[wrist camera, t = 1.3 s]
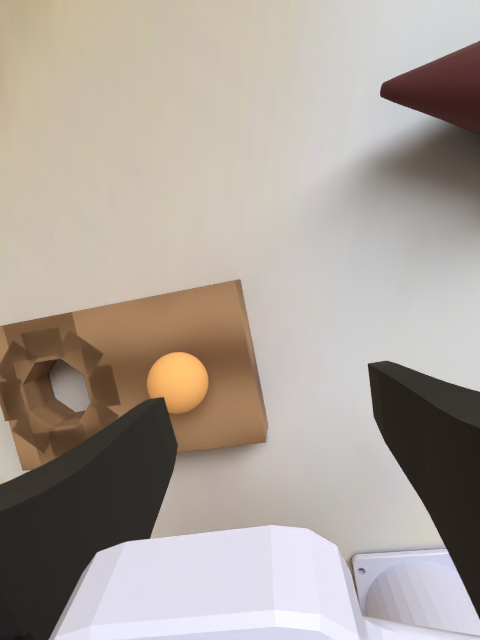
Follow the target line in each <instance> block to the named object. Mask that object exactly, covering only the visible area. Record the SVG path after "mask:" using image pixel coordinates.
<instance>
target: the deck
mask: <svg viewBox="0 0 480 640" xmlns="http://www.w3.org/2000/svg"><path fill="white" fill-rule="evenodd" d="M174 352H184V353H188V354H190V355H193V356H194V357H196V358H197V359H198V360H200V361H201V363H202V364H203V365H204V367H205V369H206V371H207V374H208V389H207V393H206V395H205V397H204V399H203V400H202V401H201V403H200V404H199V405H198V406H197V407H195V408H194V409H192V410H190V411H188V412H185V413H179V414H174V413H169V412H168V413H169V416H170V420H171V423H172V427H173V430H174V433H175V437H176V440H177V444H178V448H177V453H178V452H187V451H195V450H204V449H212V448H221V447H229V446H238V445H246V444H255V443H263V442H266V437H267V428H268V422H267V417H266V411H265V406H264V401H263V396H262V390H261V385H260V380H259V375H258V370H257V364H256V359H255V354H254V349H253V343H252V338H251V333H250V328H249V323H248V317H247V312H246V307H245V302H244V296H243V291H242V286H241V281H240V280H234V281H229V282H224V283H219V284H214V285H209V286H203V287H198V288H193V289H188V290H183V291H178V292H173V293H168V294H162V295H157V296H152V297H147V298H142V299H137V300H132V301H126V302H121V303H116V304H111V305H106V306H101V307H96V308H91V309H85V310H80V311H75V312H70V313H65V314H60V315H55V316H49V317H44V318H39V319H34V320H29V321H24V322H19V323H14V324H8V325H3V326H0V404H1V407H2V411H3V414H4V418H5V421H9V424H10V427H11V431H12V434H13V438H14V441H15V445H16V449H17V452H18V456H19V459H20V463H21V466H22V470H23V471H24V470H33V469H35V468H38V467H40V466H42V465H44V464H46V463H48V462H50V461H51V460H53V459H55V458H57V457H59V456H60V455H62V454H64V453H66V452H68V451H69V450H71V449H73V448H74V447H76V446H78V445H79V444H81V443H82V442H84V441H85V440H87V439H88V438H90V437H91V436H93V435H94V434H96V433H98V432H99V431H101V430H102V429H104V428H105V427H107V426H108V425H109V424H111V423H112V422H114V421H115V420H116V419H118V418H119V417H121V416H122V415H124V414H125V413H126V412H128V411H129V410H131V409H132V408H134V407H135V406H137V405H138V404H140V403H142V402H143V401H145V400H147V399H151V398H150V396H149V393H148V389H147V378H148V374H149V372H150V370H151V368H152V366H153V365H154V363H155V362H156V361H157V360H158V359H160V358H161V357H163V356H165V355H167V354H169V353H174ZM59 358H61V359H62V360H63V361H65V362H66V363H68V364H69V365H70V366H72V367H73V368H75V369H76V370H77V371H79V372H80V373H82V374H83V375H84V378H85V382H86V386H87V390H88V394H89V398H90V402H91V403H90V405H89V406H88V408H87V409H86V411H81V412H74V411H72V410H71V409H70V408H68V407H67V406H65V405H64V404H63V403H61V402H60V401H58V400H57V399H56V398H55V397H54V393H53V389H52V386H51V382H50V378H49V374H48V373H49V372H50V370H51V368H52V366H53V365H54V363H55V361H56V359H59Z"/></svg>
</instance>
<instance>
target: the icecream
mask: <svg viewBox="0 0 480 640" xmlns="http://www.w3.org/2000/svg"><path fill="white" fill-rule="evenodd" d="M380 96H381V97H383V98H385V99H387V100H390V101H392V102H394V103H397V104H400V105H403V106H406V107H408V108H411V109H414V110H417V111H420V112H422V113H425V114H428V115H430V116H433V117H436V118H438V119H441V120H444V121H446V122H449V123H452V124H454V125H457V126H460V127H462V128H465V129H468V130H470V131H473V132H475V133H478V134H480V41H479V42H477V43H474V44H472V45H470V46H467V47H465V48H463V49H460V50H458V51H456V52H453V53H451V54H449V55H446V56H444V57H442V58H440V59H437V60H435V61H433V62H430V63H428V64H425V65H423V66H421V67H418V68H416V69H414V70H411V71H409V72H406V73H404V74H402V75H399V76H397V77H395V78H393V79H391V80H388V81H386V82H384V83H383V84H382V86H381V91H380Z"/></svg>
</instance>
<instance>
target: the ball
mask: <svg viewBox="0 0 480 640" xmlns="http://www.w3.org/2000/svg"><path fill="white" fill-rule="evenodd" d="M147 389H148V393H149V396H150V398H151V399H152V398H159V397H164V399H165V402H166V406H167V409H168V412H169V413H174V414H179V413H185V412H188V411H190V410H192V409H194V408H195V407H197V406H198V405H199V404H200V403H201V401H202V400H203V399H204V397H205V395H206V393H207V389H208V374H207V371H206V369H205V367H204V365H203V364H202V363H201V361H200V360H198V359H197V358H196V357H194V356H193V355H190V354H188V353H184V352H174V353H169V354H167V355H165V356H163V357H161V358H160V359H158V360H157V361H156V362H155V363H154V365H153V366H152V368H151V370H150V372H149V374H148V378H147Z"/></svg>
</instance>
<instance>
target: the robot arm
mask: <svg viewBox="0 0 480 640" xmlns="http://www.w3.org/2000/svg"><path fill="white" fill-rule="evenodd" d="M368 370H369V378H370V387H371V396H372V405H373V413H374V418H375V421H376V423H377V425H378V428H379V430H380V432H381V434H382V436H383V439H384V441H385V443H386V444H387V446H388V448H389V449H390V451H391V452H392V454H393V456H394V457H395V459H396V460H397V462H398V464H399V465H400V467H401V468H402V470H403V472H404V473H405V475H406V476H407V478H408V480H409V481H410V483H411V484H412V486H413V487H414V489H415V491H416V492H417V494H418V495H419V497H420V499H421V500H422V502H423V504H424V505H425V507H426V509H427V511H428V512H429V514H430V516H431V518H432V520H433V522H434V524H435V526H436V528H437V530H438V532H439V534H440V536H441V538H442V540H443V542H444V544H445V546H446V549H434V550H417V551H401V552H385V553H369V554H357V555H355V556H353V558H352V564H353V570H354V576H355V582H356V588H357V594H358V598H357V595H356V591H355V587H354V583H353V579H352V576H351V572H350V570H349V568H348V566H347V564H346V562H345V560H344V558H343V557H342V555H341V553H340V551H339V549H338V547H337V546H336V545H334V544H333V543H331V542H329V541H328V540H326V539H324V538H323V537H321V536H319V535H317V534H316V533H314V532H312V531H311V530H309V529H307V528H301V527H291V526H280V525H265V526H256V527H248V528H239V529H230V530H222V531H213V532H204V533H196V534H187V535H178V536H170V537H161V538H152V539H150V537H151V533H152V530H153V527H154V524H155V522H156V519H157V516H158V513H159V510H160V507H161V505H162V502H163V499H164V496H165V493H166V490H167V488H168V485H169V482H170V479H171V476H172V473H173V469H174V464H175V459H176V454H177V448H178V444H177V440H176V437H175V433H174V430H173V427H172V423H171V420H170V416H169V413H168V409H167V406H166V402H165V399H164V397H159V398H152V399H147V400H145V401H143V402H142V403H140V404H138V405H137V406H135V407H134V408H132V409H131V410H129V411H128V412H126V413H125V414H124V415H122V416H121V417H119V418H118V419H116V420H115V421H114V422H112V423H111V424H109V425H108V426H107V427H105V428H104V429H102V430H101V431H99V432H98V433H96V434H94V435H93V436H91V437H90V438H88V439H87V440H85V441H84V442H82V443H81V444H79V445H78V446H76V447H74V448H73V449H71V450H69V451H68V452H66V453H64V454H62V455H60V456H59V457H57V458H55V459H53V460H51V461H50V462H48V463H46V464H44V465H42V466H40V467H38V468H35V469H33V470H31V471H29V472H27V473H25V474H23V475H21V476H19V477H17V478H15V479H12V480H10V481H8V482H5V483H3V484H1V485H0V640H480V392H478V391H474V390H471V389H467V388H464V387H461V386H457V385H454V384H451V383H448V382H445V381H442V380H439V379H436V378H433V377H431V376H428V375H425V374H423V373H420V372H417V371H415V370H412V369H410V368H407V367H404V366H402V365H399V364H396V363H393V362H390V361H381V362H375V363H369V364H368ZM359 568H363V570H359ZM358 600H359V602H358Z"/></svg>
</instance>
